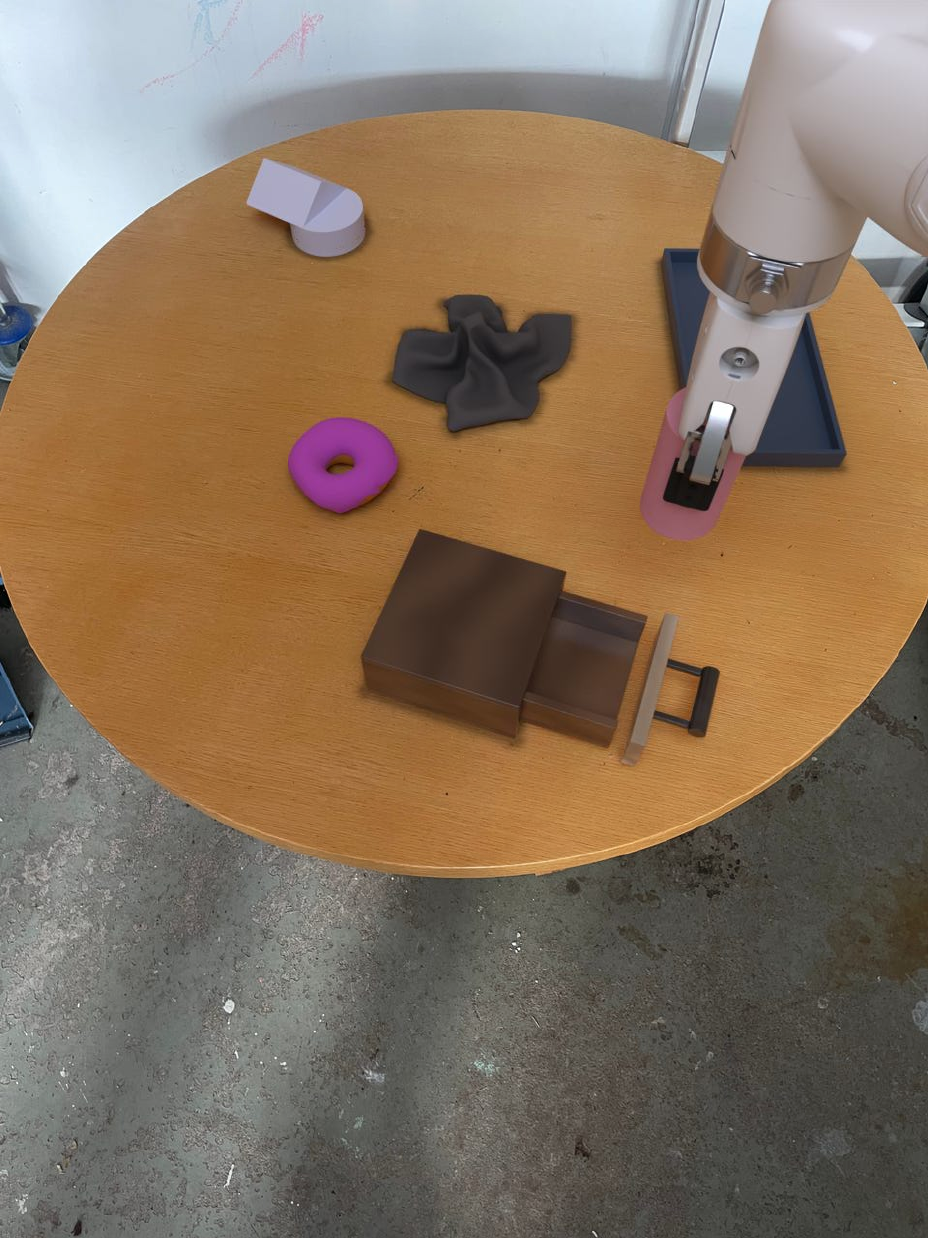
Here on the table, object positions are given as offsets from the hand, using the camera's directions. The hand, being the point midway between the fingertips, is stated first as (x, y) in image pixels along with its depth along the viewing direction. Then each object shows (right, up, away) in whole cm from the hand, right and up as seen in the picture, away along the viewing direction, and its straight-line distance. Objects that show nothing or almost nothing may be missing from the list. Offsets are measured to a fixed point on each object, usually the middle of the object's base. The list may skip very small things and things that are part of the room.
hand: (695, 465), depth 61 cm
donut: (-28, +3, +27) cm, 39 cm away
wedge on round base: (-35, +38, +46) cm, 69 cm away
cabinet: (-16, -14, +17) cm, 27 cm away
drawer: (-4, -17, +14) cm, 22 cm away
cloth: (-14, +18, +35) cm, 42 cm away
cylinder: (0, -2, +4) cm, 5 cm away
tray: (+15, +18, +35) cm, 42 cm away
